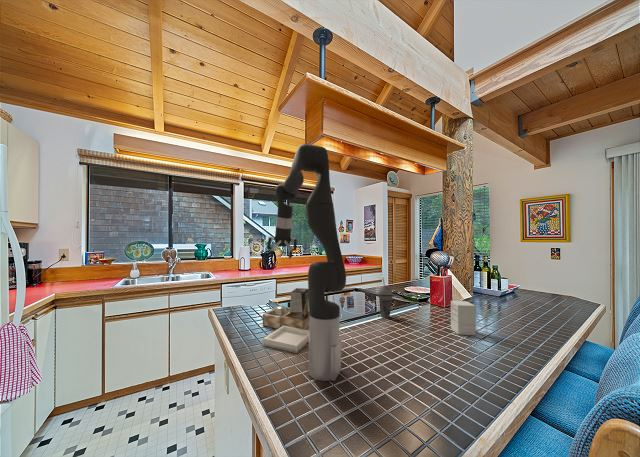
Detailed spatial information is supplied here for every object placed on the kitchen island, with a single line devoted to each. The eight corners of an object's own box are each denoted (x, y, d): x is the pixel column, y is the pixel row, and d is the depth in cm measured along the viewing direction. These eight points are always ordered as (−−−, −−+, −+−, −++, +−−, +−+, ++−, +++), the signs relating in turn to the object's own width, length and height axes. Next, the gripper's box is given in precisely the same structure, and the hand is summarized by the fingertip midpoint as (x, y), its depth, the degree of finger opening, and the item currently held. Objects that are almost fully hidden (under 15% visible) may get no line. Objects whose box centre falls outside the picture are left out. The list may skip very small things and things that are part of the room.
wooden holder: (317, 322, 114) (317, 311, 114) (304, 333, 101) (304, 320, 101) (279, 316, 122) (279, 305, 122) (262, 325, 109) (262, 313, 109)
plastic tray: (313, 337, 97) (313, 331, 97) (296, 353, 84) (296, 345, 84) (283, 331, 103) (283, 325, 103) (263, 345, 90) (263, 338, 90)
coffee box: (303, 330, 105) (304, 292, 105) (289, 328, 106) (290, 291, 106) (308, 322, 114) (309, 288, 114) (295, 321, 115) (296, 287, 115)
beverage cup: (394, 319, 120) (394, 279, 121) (379, 318, 121) (380, 278, 121) (390, 314, 128) (390, 276, 128) (376, 314, 128) (377, 276, 128)
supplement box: (467, 329, 110) (467, 301, 110) (476, 335, 102) (476, 305, 103) (450, 328, 110) (450, 300, 111) (457, 334, 103) (457, 304, 103)
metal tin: (287, 321, 115) (288, 306, 115) (282, 324, 110) (282, 309, 111) (278, 319, 117) (279, 305, 117) (272, 323, 112) (273, 307, 112)
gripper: (268, 226, 112) (266, 259, 116) (299, 228, 115) (296, 260, 119) (268, 223, 119) (266, 254, 123) (297, 225, 123) (294, 255, 126)
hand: (281, 257), depth 121 cm, fingers open, 8 cm apart
